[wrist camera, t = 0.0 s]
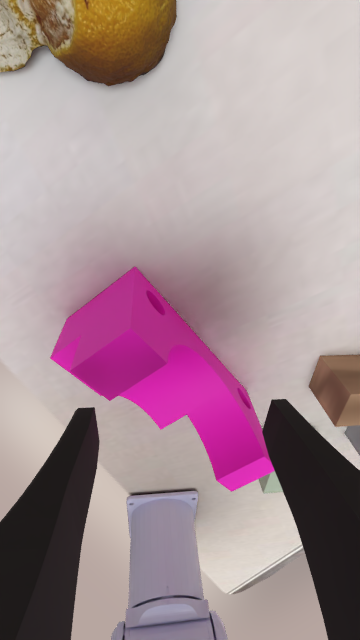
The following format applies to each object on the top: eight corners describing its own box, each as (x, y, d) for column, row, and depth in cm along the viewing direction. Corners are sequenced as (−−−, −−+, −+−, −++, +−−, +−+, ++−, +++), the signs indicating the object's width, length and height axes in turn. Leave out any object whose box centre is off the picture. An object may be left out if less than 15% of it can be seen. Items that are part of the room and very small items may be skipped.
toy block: (67, 317, 21) (33, 396, 14) (135, 265, 19) (130, 328, 13) (189, 421, 28) (202, 505, 22) (246, 389, 26) (278, 469, 20)
